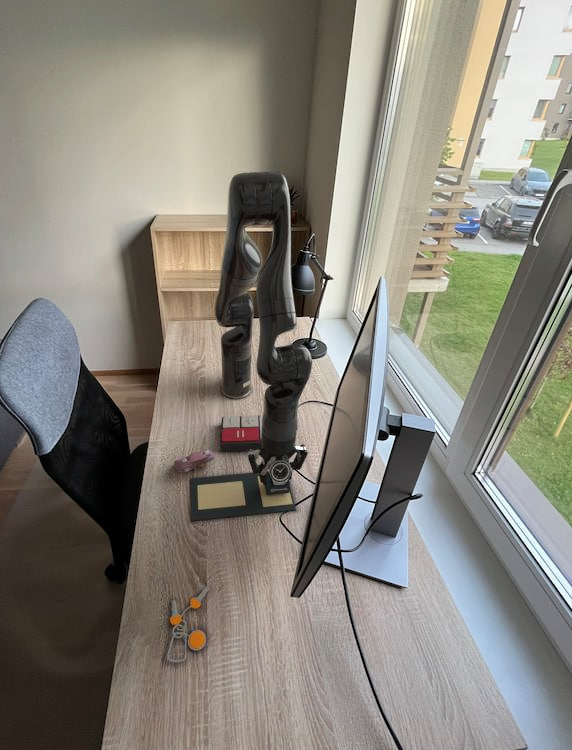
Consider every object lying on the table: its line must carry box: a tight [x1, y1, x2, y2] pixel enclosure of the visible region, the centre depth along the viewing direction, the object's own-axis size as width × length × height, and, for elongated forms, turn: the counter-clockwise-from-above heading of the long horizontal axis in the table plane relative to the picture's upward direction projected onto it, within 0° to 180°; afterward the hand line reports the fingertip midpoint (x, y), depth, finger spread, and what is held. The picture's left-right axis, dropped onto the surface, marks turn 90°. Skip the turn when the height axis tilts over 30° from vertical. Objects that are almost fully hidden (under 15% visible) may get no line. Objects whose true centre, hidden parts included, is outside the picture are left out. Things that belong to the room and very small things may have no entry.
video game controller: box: [173, 449, 215, 473], centre depth 102 cm, size 10×5×7 cm, turn 117°
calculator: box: [219, 414, 263, 452], centre depth 111 cm, size 11×4×15 cm
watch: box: [264, 460, 294, 495], centre depth 93 cm, size 6×8×11 cm
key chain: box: [166, 586, 210, 664], centre depth 73 cm, size 13×7×1 cm, turn 178°
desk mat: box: [190, 470, 297, 522], centre depth 96 cm, size 12×24×1 cm, turn 97°
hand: (275, 480), depth 95 cm, fingers closed on watch, 4 cm apart
